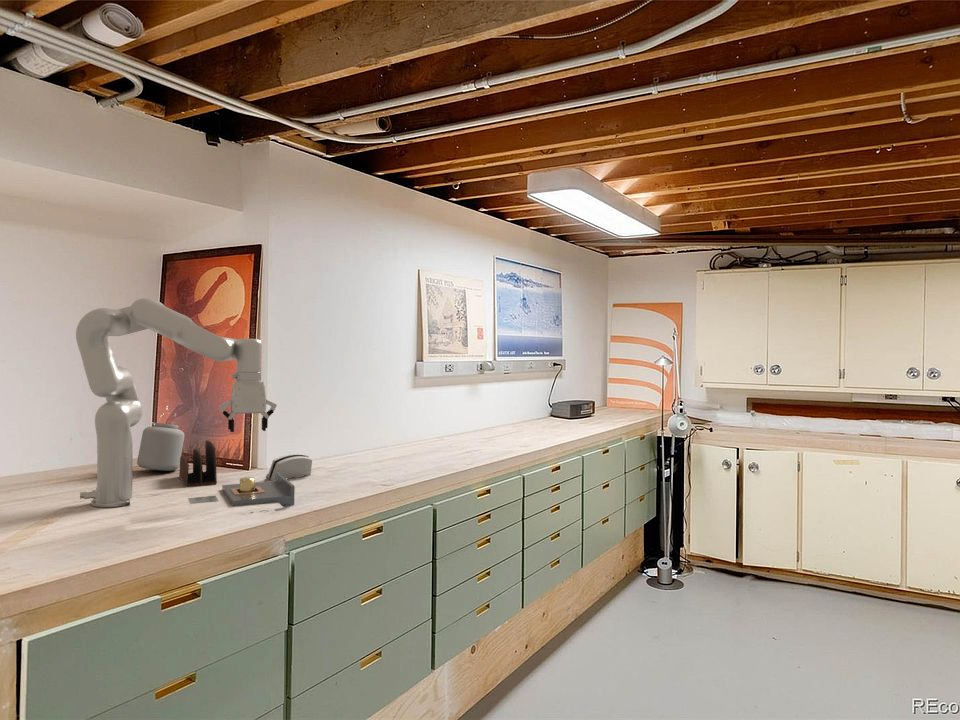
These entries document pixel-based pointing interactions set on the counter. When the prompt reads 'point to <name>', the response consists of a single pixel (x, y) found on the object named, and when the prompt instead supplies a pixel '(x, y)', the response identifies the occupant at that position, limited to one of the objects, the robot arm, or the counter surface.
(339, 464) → the counter surface
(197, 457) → the letter holder
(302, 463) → the grey rounded block
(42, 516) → the counter surface
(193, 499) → the gray square slab
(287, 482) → the plate
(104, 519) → the counter surface
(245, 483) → the barrel peg
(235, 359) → the robot arm
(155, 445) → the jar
